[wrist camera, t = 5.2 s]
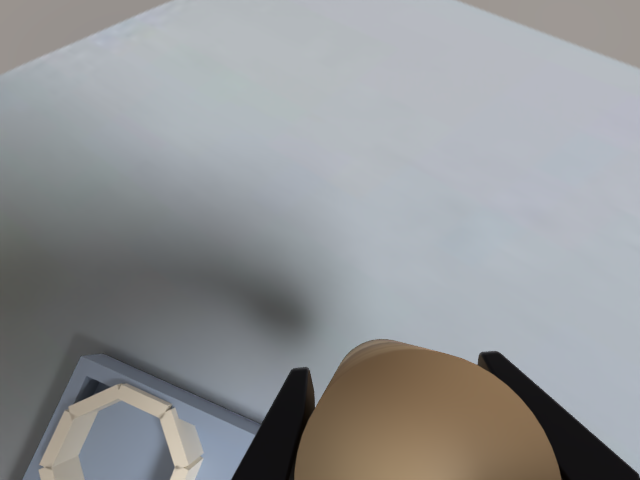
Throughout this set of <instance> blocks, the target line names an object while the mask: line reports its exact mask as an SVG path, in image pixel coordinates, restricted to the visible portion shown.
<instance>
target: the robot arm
mask: <svg viewBox="0 0 640 480" xmlns="http://www.w3.org/2000/svg"><path fill="white" fill-rule="evenodd" d="M478 366H480V367H481V368H483V369H485V370H487V371H488V372H490V373H492V374H493V375H495V376H496V377H497V378H498V379H500V380H501V381H502V382H504V383H505V384H506V385H508V386H509V387H510V388H511V389H512V390H513V391H514V392H515V393H516V394H517V395H518V396H519V397H520V398H521V399H522V400H523V402H524V403H525V404H526V405H527V407H528V408H529V409H530V410H531V411H532V413H533V414H534V416H535V417H536V419H537V420H538V422H539V424H540V425H541V427H542V428H543V430H544V432H545V434H546V436H547V438H548V440H549V442H550V444H551V446H552V449H553V452H554V454H555V457H556V460H557V463H558V466H559V470H560V475H561V479H562V480H640V477H639V474H638V473H637V472H636V471H635V470H634V469H632V468H631V467H630V466H629V465H628V464H627V463H626V462H624V461H623V460H622V459H621V458H620V457H619V456H618V455H616V454H615V453H614V452H613V451H612V450H611V449H610V448H608V447H607V446H606V445H605V444H604V443H603V442H602V441H600V440H599V439H598V438H597V437H596V436H595V435H594V434H592V433H591V432H590V431H589V430H588V429H587V428H586V427H584V426H583V425H582V424H581V423H580V422H579V421H577V420H576V419H575V418H574V417H573V416H572V415H571V414H569V413H568V412H567V411H566V410H565V409H564V408H563V407H561V406H560V405H559V404H558V403H557V402H556V401H555V400H553V399H552V398H551V397H550V396H549V395H548V394H547V393H545V392H544V391H543V390H542V389H541V388H540V387H539V386H537V385H536V384H535V383H534V382H533V381H532V380H531V379H529V378H528V377H527V376H526V375H525V374H524V373H523V372H521V371H520V370H519V369H518V368H517V367H516V366H515V365H513V364H512V363H511V362H510V361H509V360H508V359H507V358H505V357H504V356H503V355H502V354H501V353H499V352H497V351H488V352H481V353H480V354H479V358H478ZM314 409H315V397H314V389H313V384H312V379H311V374H310V370H309V368H307V367H302V368H294V369H292V370H291V372H290V373H289V375H288V377H287V379H286V380H285V382H284V384H283V386H282V388H281V390H280V391H279V393H278V395H277V397H276V399H275V400H274V402H273V404H272V406H271V408H270V410H269V411H268V413H267V415H266V417H265V419H264V420H263V422H262V424H261V426H260V428H259V430H258V431H257V433H256V435H255V437H254V439H253V440H252V442H251V444H250V446H249V448H248V450H247V451H246V453H245V455H244V457H243V459H242V460H241V462H240V464H239V466H238V468H237V470H236V471H235V473H234V475H233V477H232V479H231V480H294V473H295V464H296V458H297V452H298V448H299V445H300V441H301V437H302V434H303V432H304V430H305V427H306V425H307V422H308V420H309V418H310V416H311V414H312V413H313V411H314Z"/></svg>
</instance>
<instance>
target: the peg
mask: <svg viewBox="0 0 640 480" xmlns="http://www.w3.org/2000/svg"><path fill="white" fill-rule="evenodd" d="M294 480H562V479H561V475H560V470H559V466H558V463H557V460H556V457H555V454H554V452H553V449H552V446H551V444H550V442H549V440H548V438H547V436H546V434H545V432H544V430H543V428H542V427H541V425H540V424H539V422H538V420H537V419H536V417H535V416H534V414H533V413H532V411H531V410H530V409H529V408H528V407H527V405H526V404H525V403H524V402H523V400H522V399H521V398H520V397H519V396H518V395H517V394H516V393H515V392H514V391H513V390H512V389H511V388H510V387H509V386H508V385H506V384H505V383H504V382H502V381H501V380H500V379H498V378H497V377H496V376H495V375H493V374H492V373H490V372H488V371H487V370H485V369H483V368H481V367H480V366H478V365H476V364H474V363H471V362H469V361H467V360H465V359H462V358H459V357H456V356H452V355H449V354H446V353H442V352H438V351H434V350H430V349H426V348H422V347H418V346H414V345H410V344H406V343H402V342H398V341H394V340H388V339H377V340H371V341H367V342H365V343H362V344H360V345H359V346H357V347H355V348H354V349H353V350H351V351H350V352H349V353H348V354H347V355H346V356H345V358H344V359H343V360H342V362H341V364H340V365H339V367H338V369H337V371H336V372H335V374H334V376H333V378H332V379H331V381H330V383H329V385H328V386H327V388H326V390H325V392H324V393H323V395H322V397H321V399H320V400H319V402H318V404H317V406H316V407H315V409H314V411H313V413H312V414H311V416H310V418H309V420H308V422H307V425H306V427H305V430H304V432H303V434H302V437H301V441H300V445H299V448H298V452H297V458H296V464H295V473H294Z"/></svg>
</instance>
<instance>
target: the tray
mask: <svg viewBox="0 0 640 480" xmlns="http://www.w3.org/2000/svg"><path fill="white" fill-rule="evenodd" d="M260 426H261V424H259V423H256V422H254V421H252V420H250V419H248V418H245V417H243V416H241V415H239V414H236V413H234V412H232V411H230V410H228V409H225V408H223V407H221V406H219V405H216V404H214V403H212V402H210V401H208V400H205V399H203V398H201V397H199V396H196V395H194V394H192V393H190V392H187V391H185V390H183V389H181V388H179V387H176V386H174V385H172V384H170V383H167V382H165V381H163V380H161V379H159V378H156V377H154V376H152V375H150V374H147V373H145V372H143V371H141V370H139V369H136V368H134V367H132V366H130V365H127V364H125V363H123V362H121V361H118V360H116V359H114V358H112V357H110V356H107V355H105V354H96V355H85V356H81V357H80V359H79V361H78V363H77V366H76V368H75V370H74V372H73V374H72V376H71V378H70V380H69V382H68V385H67V387H66V389H65V391H64V393H63V395H62V397H61V399H60V401H59V403H58V406H57V408H56V410H55V412H54V414H53V416H52V418H51V420H50V422H49V425H48V427H47V429H46V431H45V433H44V435H43V437H42V439H41V441H40V444H39V446H38V448H37V450H36V452H35V454H34V456H33V458H32V460H31V462H30V465H29V467H28V469H27V471H26V473H25V475H24V477H23V479H22V480H231V479H232V477H233V475H234V473H235V471H236V470H237V468H238V466H239V464H240V462H241V460H242V459H243V457H244V455H245V453H246V451H247V450H248V448H249V446H250V444H251V442H252V440H253V439H254V437H255V435H256V433H257V431H258V430H259V428H260Z"/></svg>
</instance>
